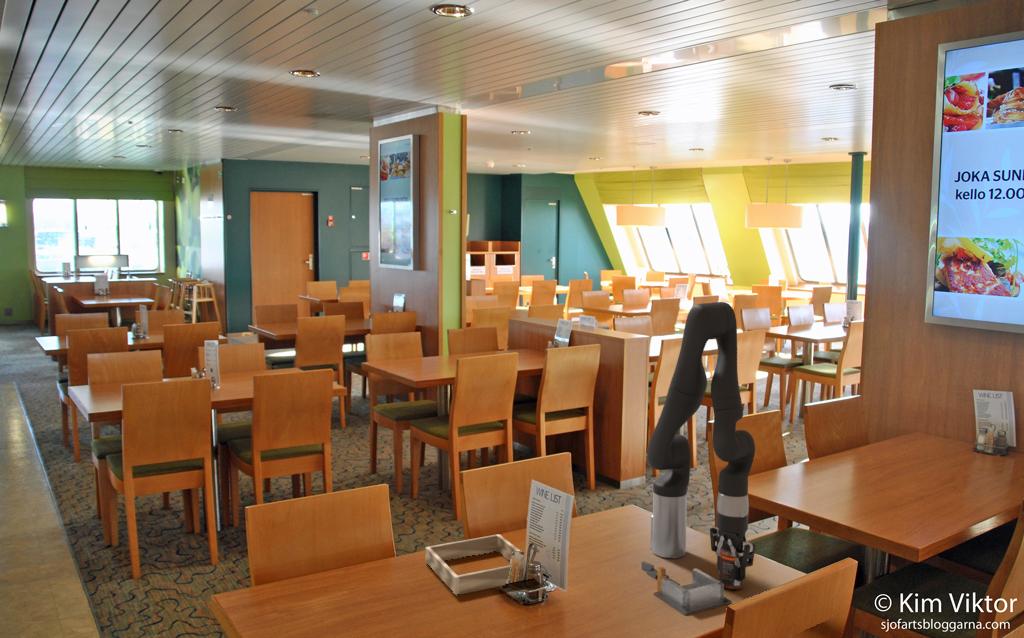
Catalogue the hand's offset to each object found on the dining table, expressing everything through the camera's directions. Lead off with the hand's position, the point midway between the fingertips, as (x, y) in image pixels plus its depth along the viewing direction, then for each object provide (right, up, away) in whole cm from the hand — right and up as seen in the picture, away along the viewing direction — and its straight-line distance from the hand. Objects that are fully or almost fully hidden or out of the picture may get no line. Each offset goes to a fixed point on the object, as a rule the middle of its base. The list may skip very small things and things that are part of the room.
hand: (730, 575), depth 190 cm
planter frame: (-64, -2, +10) cm, 65 cm away
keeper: (-12, -3, -6) cm, 13 cm away
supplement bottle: (0, -3, 0) cm, 3 cm away
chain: (-17, -3, +5) cm, 18 cm away
